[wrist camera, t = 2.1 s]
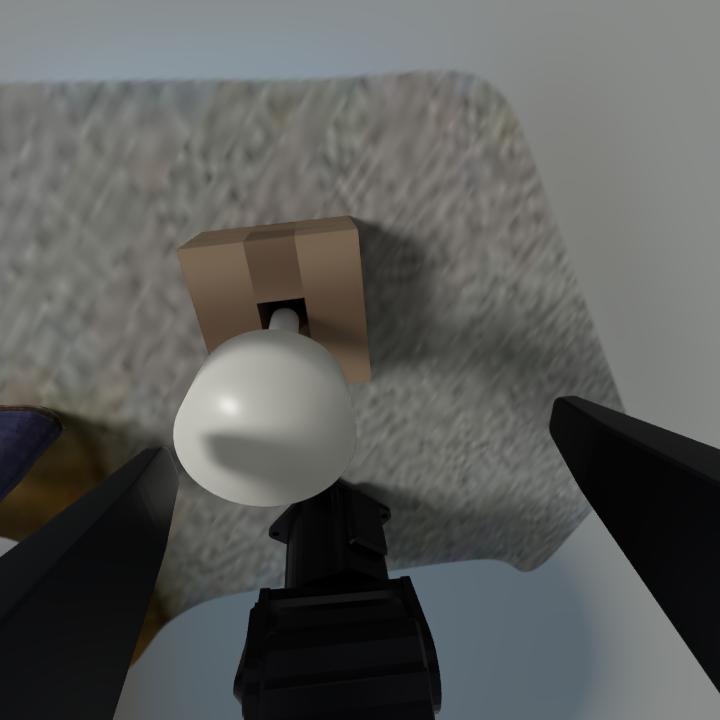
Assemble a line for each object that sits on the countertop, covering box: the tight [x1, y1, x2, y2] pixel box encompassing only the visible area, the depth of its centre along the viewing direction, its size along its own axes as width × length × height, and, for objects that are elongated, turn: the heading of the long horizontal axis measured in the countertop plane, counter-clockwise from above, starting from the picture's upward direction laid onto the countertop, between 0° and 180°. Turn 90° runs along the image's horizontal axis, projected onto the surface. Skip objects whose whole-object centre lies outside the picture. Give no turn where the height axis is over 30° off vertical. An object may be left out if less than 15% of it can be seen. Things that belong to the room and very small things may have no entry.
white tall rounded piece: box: [173, 308, 356, 507], centre depth 13 cm, size 4×4×8 cm
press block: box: [177, 216, 371, 384], centre depth 18 cm, size 7×7×4 cm
